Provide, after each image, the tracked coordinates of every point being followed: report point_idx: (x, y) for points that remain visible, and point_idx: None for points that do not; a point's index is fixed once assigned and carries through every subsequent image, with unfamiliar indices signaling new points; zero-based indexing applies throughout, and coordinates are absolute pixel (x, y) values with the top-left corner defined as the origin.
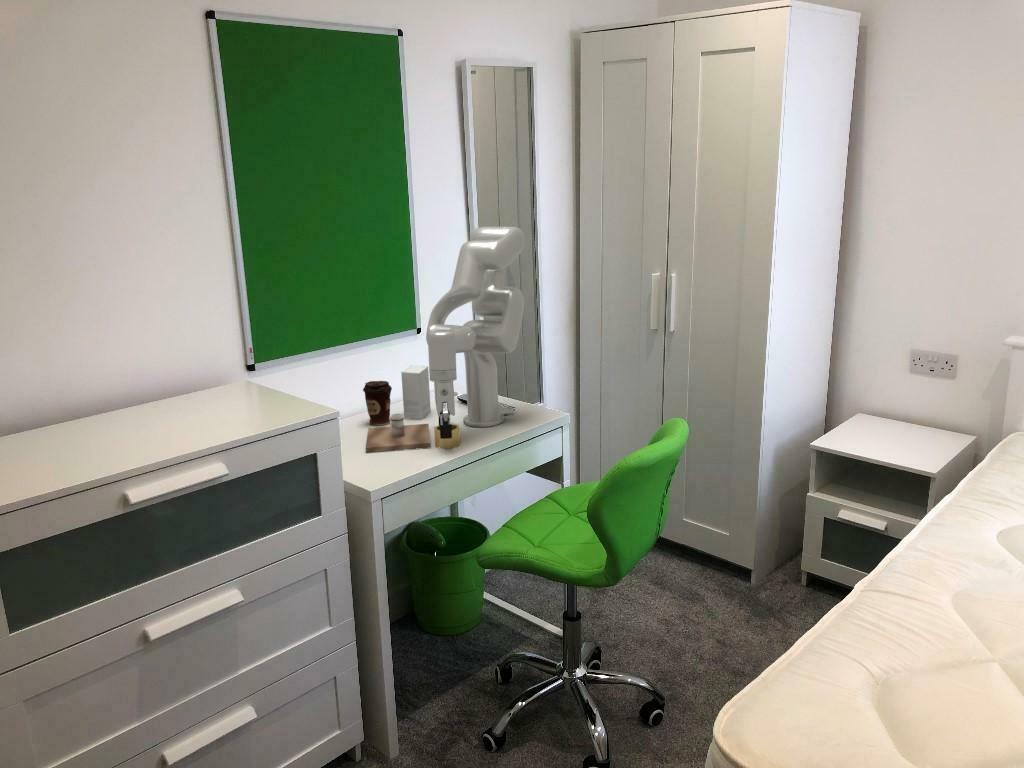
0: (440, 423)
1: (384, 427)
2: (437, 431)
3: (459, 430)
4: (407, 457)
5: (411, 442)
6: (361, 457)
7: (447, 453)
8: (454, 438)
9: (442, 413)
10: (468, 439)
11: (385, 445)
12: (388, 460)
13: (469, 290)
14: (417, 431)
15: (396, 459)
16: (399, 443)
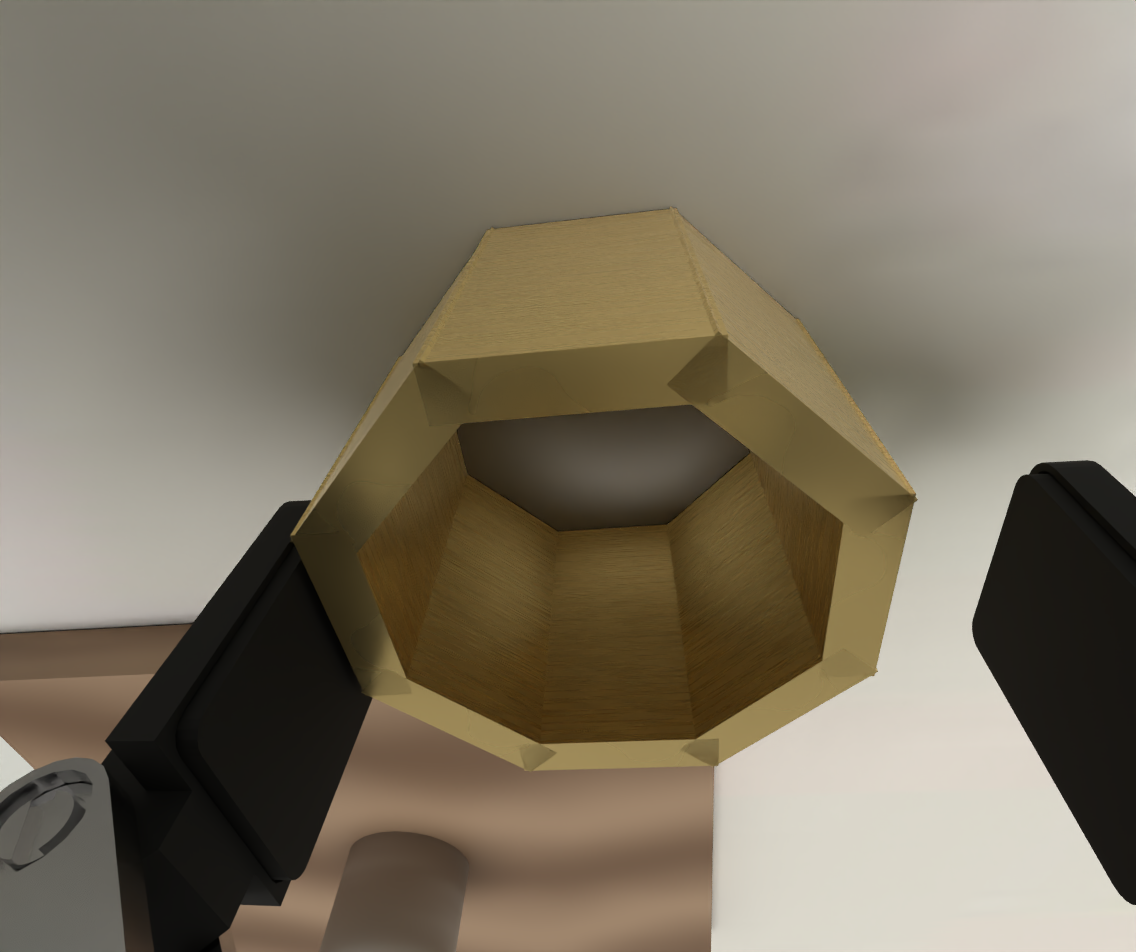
0: (353, 715)
1: None
2: (763, 721)
3: (721, 314)
4: (936, 751)
5: (649, 787)
6: (792, 941)
7: (1018, 401)
8: (817, 370)
9: (206, 917)
10: (350, 49)
11: (689, 912)
12: (943, 843)
13: None
14: None
15: (948, 808)
16: (659, 852)
